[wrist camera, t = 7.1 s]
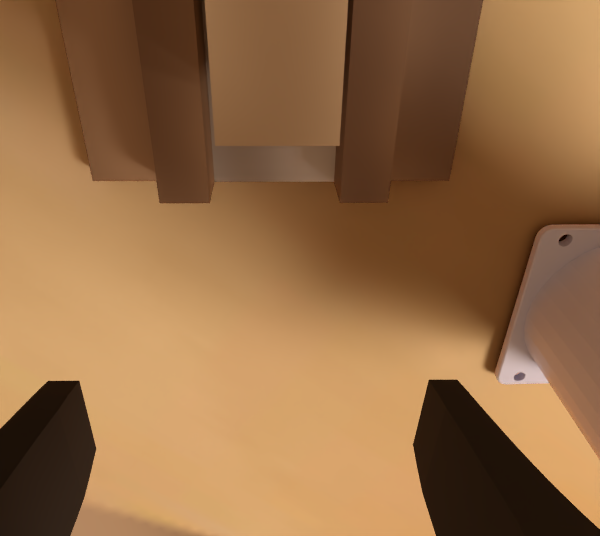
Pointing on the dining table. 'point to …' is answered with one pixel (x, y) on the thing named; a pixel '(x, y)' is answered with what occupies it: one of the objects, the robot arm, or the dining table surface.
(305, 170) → the walnut sill track
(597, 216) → the dining table surface
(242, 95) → the brown wooden block
